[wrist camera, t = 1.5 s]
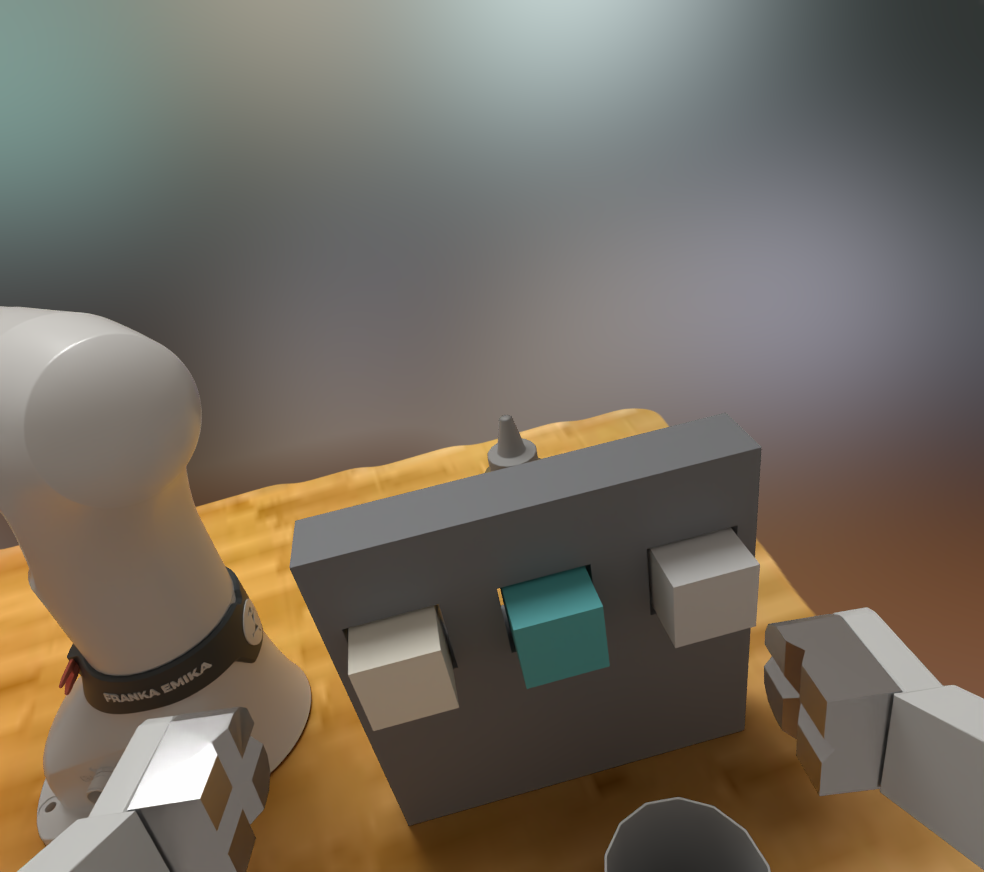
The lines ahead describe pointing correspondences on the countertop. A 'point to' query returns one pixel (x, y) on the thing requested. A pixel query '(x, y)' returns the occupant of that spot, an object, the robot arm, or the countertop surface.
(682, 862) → the cup
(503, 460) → the squeeze bottle
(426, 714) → the cream push-block
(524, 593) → the teal push-block
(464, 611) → the button panel
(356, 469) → the countertop surface
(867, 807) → the countertop surface
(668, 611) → the light grey push-block
